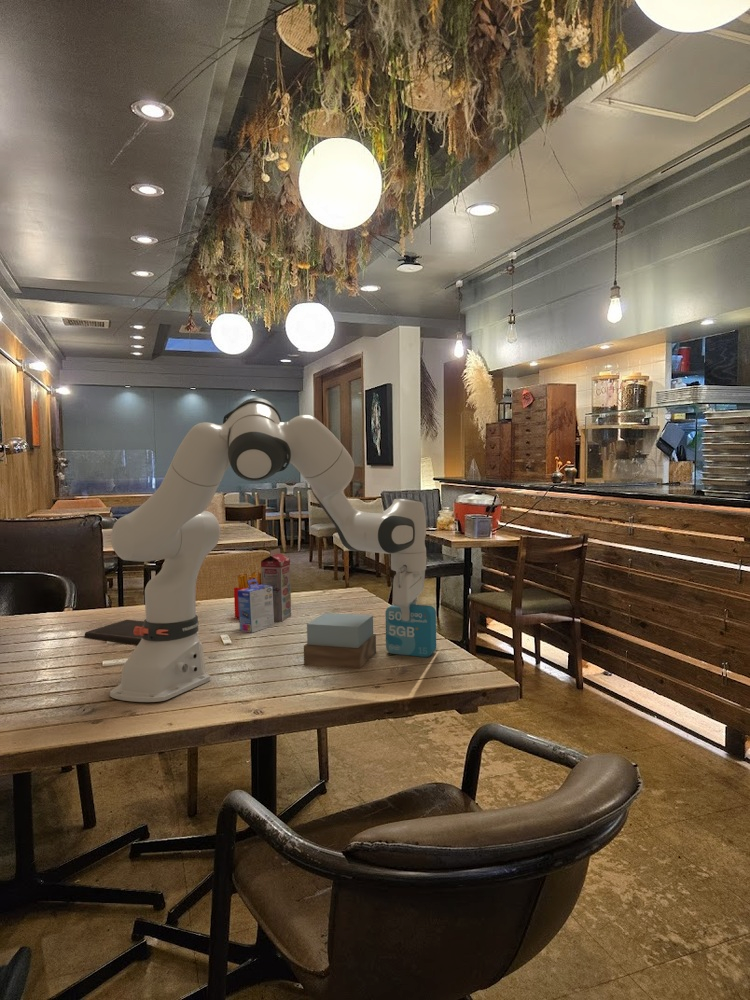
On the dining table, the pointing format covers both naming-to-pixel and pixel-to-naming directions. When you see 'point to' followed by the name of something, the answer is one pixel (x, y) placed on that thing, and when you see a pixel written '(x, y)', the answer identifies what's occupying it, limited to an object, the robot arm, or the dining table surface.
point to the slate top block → (340, 630)
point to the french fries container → (243, 585)
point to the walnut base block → (339, 654)
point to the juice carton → (278, 583)
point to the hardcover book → (117, 632)
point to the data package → (411, 631)
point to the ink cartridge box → (255, 607)
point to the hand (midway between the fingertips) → (408, 617)
